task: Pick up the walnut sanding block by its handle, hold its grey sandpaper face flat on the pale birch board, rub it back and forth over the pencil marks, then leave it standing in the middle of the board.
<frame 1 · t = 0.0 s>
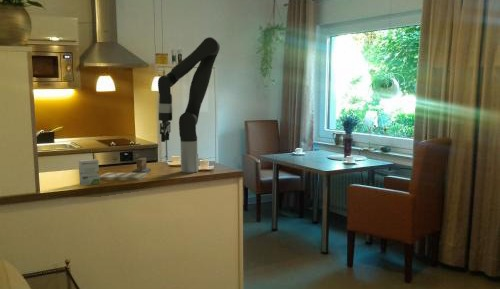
hand: (165, 141, 250), 17 cm above the table, tool pointing down, fingers open, 8 cm apart
sanding block: (141, 172, 249), on the table
birch board: (123, 177, 234), on the table
ink box: (89, 184, 219), on the table
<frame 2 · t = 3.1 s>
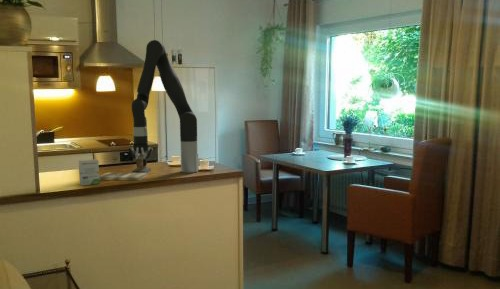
hand: (141, 165, 249), 4 cm above the table, tool pointing down, fingers closed on sanding block, 3 cm apart
sanding block: (141, 172, 249), on the table, touching gripper
everything else where it was.
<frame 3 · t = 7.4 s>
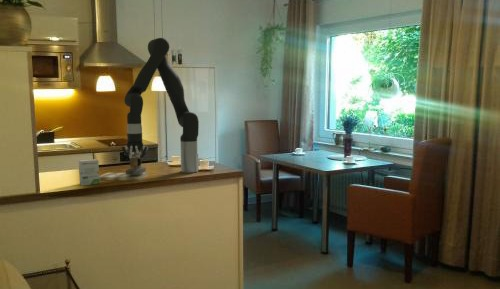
hand: (135, 165, 233), 7 cm above the table, tool pointing down, fingers closed on sanding block, 3 cm apart
sanding block: (136, 172, 233), point 3 cm above the table, touching gripper
everything else where it was.
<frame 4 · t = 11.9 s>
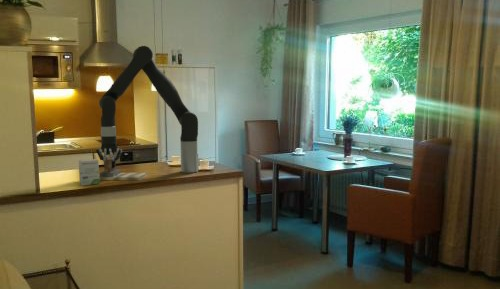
hand: (110, 168, 234), 5 cm above the table, tool pointing down, fingers closed on sanding block, 3 cm apart
sanding block: (110, 174, 234), point 2 cm above the table, touching birch board, gripper
everything else where it was.
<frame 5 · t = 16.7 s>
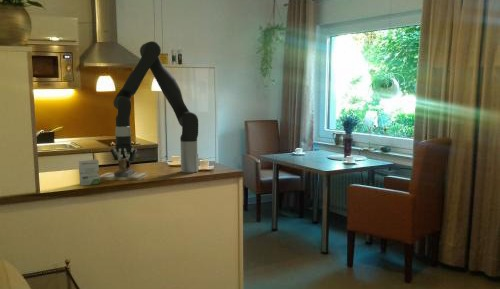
hand: (124, 168, 233), 5 cm above the table, tool pointing down, fingers closed on sanding block, 3 cm apart
sanding block: (124, 174, 233), point 2 cm above the table, touching gripper
everything else where it was.
when the fingers open (5 cm above the table, at t = 20.6 s): sanding block stays where it is, resting on birch board.
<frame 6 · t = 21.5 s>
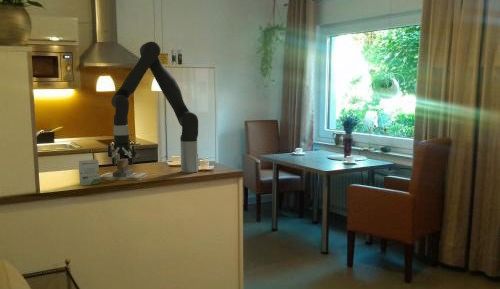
hand: (122, 165, 233), 7 cm above the table, tool pointing down, fingers open, 8 cm apart
sanding block: (123, 174, 234), point 2 cm above the table, touching birch board
everything else where it was.
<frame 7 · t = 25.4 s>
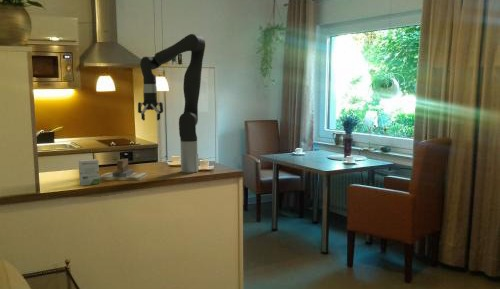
hand: (150, 120, 260), 28 cm above the table, tool pointing down, fingers open, 8 cm apart
nothing on the table moved.
at the end: sanding block inside the target area (0.1 cm from its centre), point 1.5 cm above the table; sanding block tilted 0°; sanding block touching birch board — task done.
